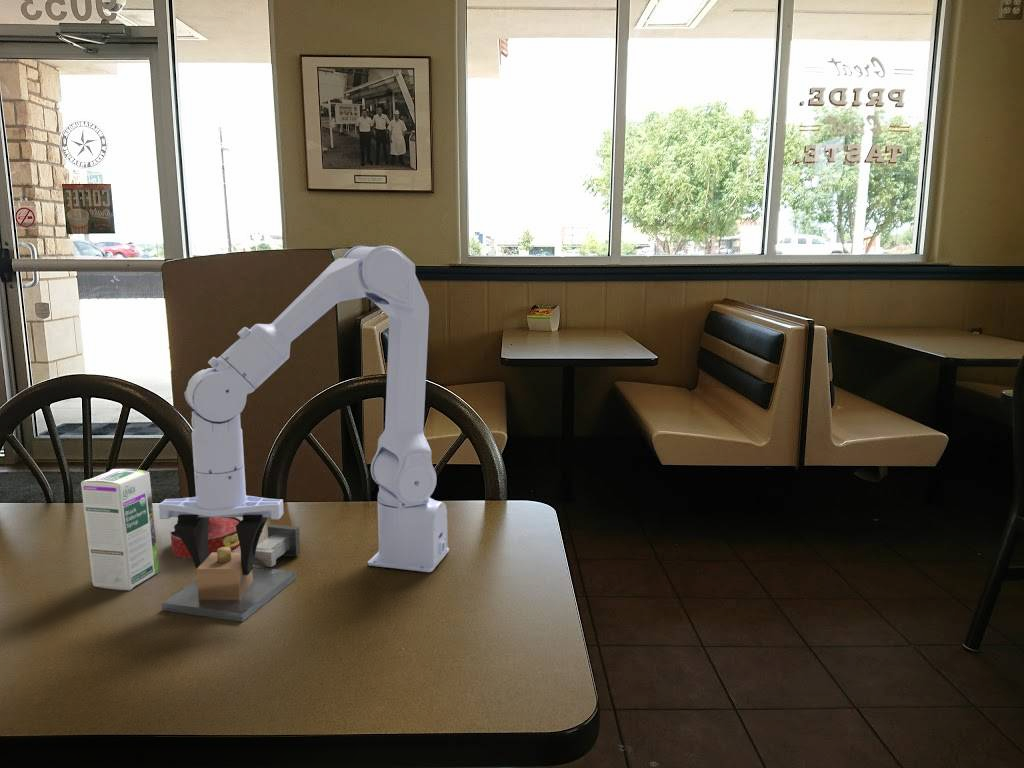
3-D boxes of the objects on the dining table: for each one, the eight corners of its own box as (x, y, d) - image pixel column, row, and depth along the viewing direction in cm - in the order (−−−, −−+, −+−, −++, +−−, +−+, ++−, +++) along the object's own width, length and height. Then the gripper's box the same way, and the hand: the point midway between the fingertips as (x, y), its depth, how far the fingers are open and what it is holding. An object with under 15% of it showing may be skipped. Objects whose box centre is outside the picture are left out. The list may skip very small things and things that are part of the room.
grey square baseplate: (295, 578, 98) (295, 571, 98) (242, 621, 86) (242, 613, 86) (223, 569, 100) (222, 562, 100) (162, 610, 89) (161, 602, 89)
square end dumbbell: (300, 553, 105) (298, 527, 105) (273, 573, 99) (272, 545, 98) (272, 550, 106) (271, 524, 106) (244, 570, 100) (242, 542, 99)
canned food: (199, 590, 105) (162, 542, 99) (179, 560, 112) (143, 513, 107) (268, 540, 109) (235, 492, 104) (244, 514, 117) (213, 468, 112)
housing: (239, 599, 90) (237, 557, 89) (198, 599, 90) (195, 557, 89) (252, 581, 95) (250, 541, 94) (213, 581, 94) (211, 541, 94)
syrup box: (130, 591, 94) (120, 482, 91) (90, 587, 95) (79, 479, 92) (159, 572, 99) (151, 469, 97) (121, 568, 100) (112, 466, 98)
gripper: (288, 458, 94) (292, 558, 96) (173, 458, 93) (180, 558, 96) (271, 474, 87) (277, 582, 89) (147, 474, 86) (156, 582, 89)
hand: (225, 571), depth 92 cm, fingers closed on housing, 5 cm apart
